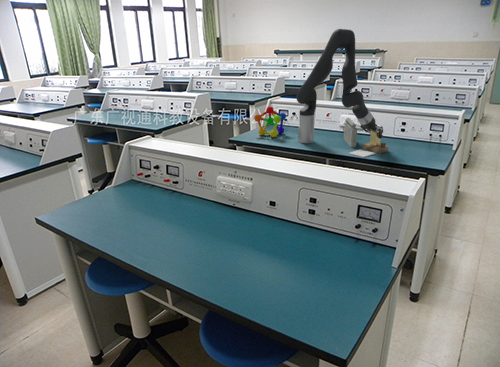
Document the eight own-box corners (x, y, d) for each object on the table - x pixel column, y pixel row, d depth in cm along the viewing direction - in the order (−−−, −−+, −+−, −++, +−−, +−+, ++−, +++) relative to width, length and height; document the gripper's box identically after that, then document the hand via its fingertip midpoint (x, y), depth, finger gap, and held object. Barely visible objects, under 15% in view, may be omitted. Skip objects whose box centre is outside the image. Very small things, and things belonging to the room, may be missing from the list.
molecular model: (251, 134, 250) (253, 105, 243) (264, 131, 261) (265, 103, 255) (277, 139, 238) (279, 108, 232) (289, 136, 250) (291, 107, 243)
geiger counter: (359, 124, 208) (349, 115, 231) (348, 124, 208) (339, 115, 231) (357, 147, 213) (348, 136, 236) (347, 147, 213) (338, 137, 236)
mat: (348, 153, 202) (348, 152, 201) (360, 150, 207) (360, 149, 207) (363, 157, 194) (363, 156, 194) (375, 154, 199) (375, 153, 199)
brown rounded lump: (362, 149, 209) (363, 140, 207) (370, 147, 212) (370, 138, 210) (380, 153, 199) (381, 145, 197) (388, 151, 203) (389, 142, 201)
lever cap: (369, 144, 206) (370, 131, 203) (374, 143, 208) (375, 130, 205) (375, 146, 203) (376, 132, 200) (380, 145, 205) (381, 131, 202)
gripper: (380, 114, 189) (392, 133, 200) (358, 111, 200) (370, 129, 210) (373, 126, 188) (385, 144, 199) (351, 122, 199) (364, 139, 210)
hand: (377, 136), depth 205 cm, fingers closed on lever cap, 4 cm apart
